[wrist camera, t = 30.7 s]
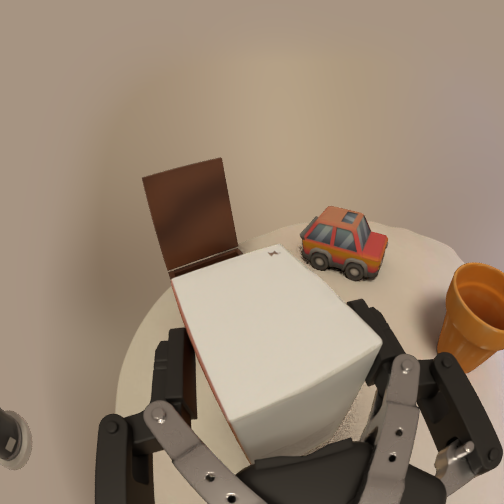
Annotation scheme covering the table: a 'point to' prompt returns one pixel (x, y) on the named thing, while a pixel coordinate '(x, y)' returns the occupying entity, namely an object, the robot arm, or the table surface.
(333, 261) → the toy car
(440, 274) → the table surface
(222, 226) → the lid
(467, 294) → the flower pot
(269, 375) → the small box
